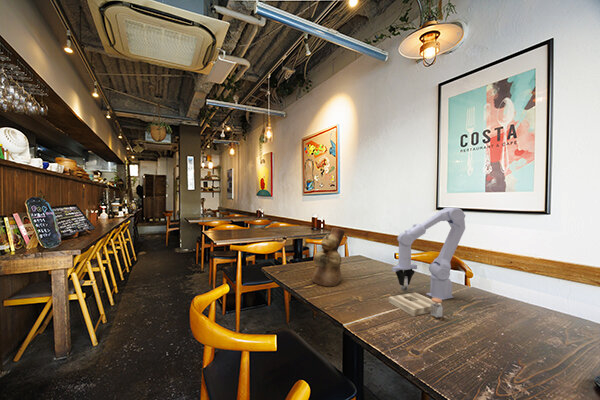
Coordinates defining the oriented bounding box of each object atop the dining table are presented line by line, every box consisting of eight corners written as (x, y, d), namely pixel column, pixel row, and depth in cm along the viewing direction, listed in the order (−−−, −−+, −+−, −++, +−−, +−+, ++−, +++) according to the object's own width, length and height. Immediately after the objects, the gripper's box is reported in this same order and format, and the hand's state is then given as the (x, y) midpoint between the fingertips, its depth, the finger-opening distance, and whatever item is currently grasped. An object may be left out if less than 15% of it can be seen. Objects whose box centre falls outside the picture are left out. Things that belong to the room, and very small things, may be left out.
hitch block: (415, 297, 120) (415, 292, 120) (441, 309, 107) (441, 304, 107) (388, 302, 114) (389, 296, 114) (413, 316, 101) (413, 309, 101)
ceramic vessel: (306, 281, 141) (307, 228, 140) (332, 273, 155) (332, 225, 155) (327, 289, 129) (328, 231, 129) (353, 280, 144) (353, 228, 143)
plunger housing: (435, 313, 102) (435, 303, 102) (442, 316, 100) (442, 306, 100) (430, 314, 101) (430, 304, 101) (436, 317, 98) (437, 307, 98)
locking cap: (435, 307, 103) (435, 296, 103) (443, 311, 99) (443, 300, 99) (429, 308, 101) (429, 298, 101) (437, 312, 98) (437, 301, 98)
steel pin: (404, 288, 126) (404, 274, 126) (409, 290, 123) (409, 276, 123) (399, 288, 125) (399, 274, 125) (404, 291, 122) (404, 276, 122)
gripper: (409, 254, 130) (409, 280, 130) (387, 256, 125) (387, 283, 125) (420, 257, 124) (420, 284, 124) (397, 260, 118) (397, 288, 118)
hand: (404, 284), depth 124 cm, fingers closed on steel pin, 3 cm apart
